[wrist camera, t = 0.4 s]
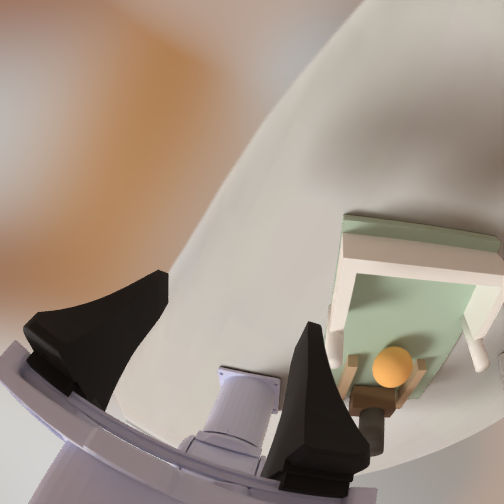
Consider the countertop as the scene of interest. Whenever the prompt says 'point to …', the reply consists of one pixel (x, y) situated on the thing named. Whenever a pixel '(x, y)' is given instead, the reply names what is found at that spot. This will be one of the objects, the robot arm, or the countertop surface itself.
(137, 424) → the countertop surface
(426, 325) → the pitch
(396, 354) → the ball
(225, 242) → the countertop surface
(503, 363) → the supplement box
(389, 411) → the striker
